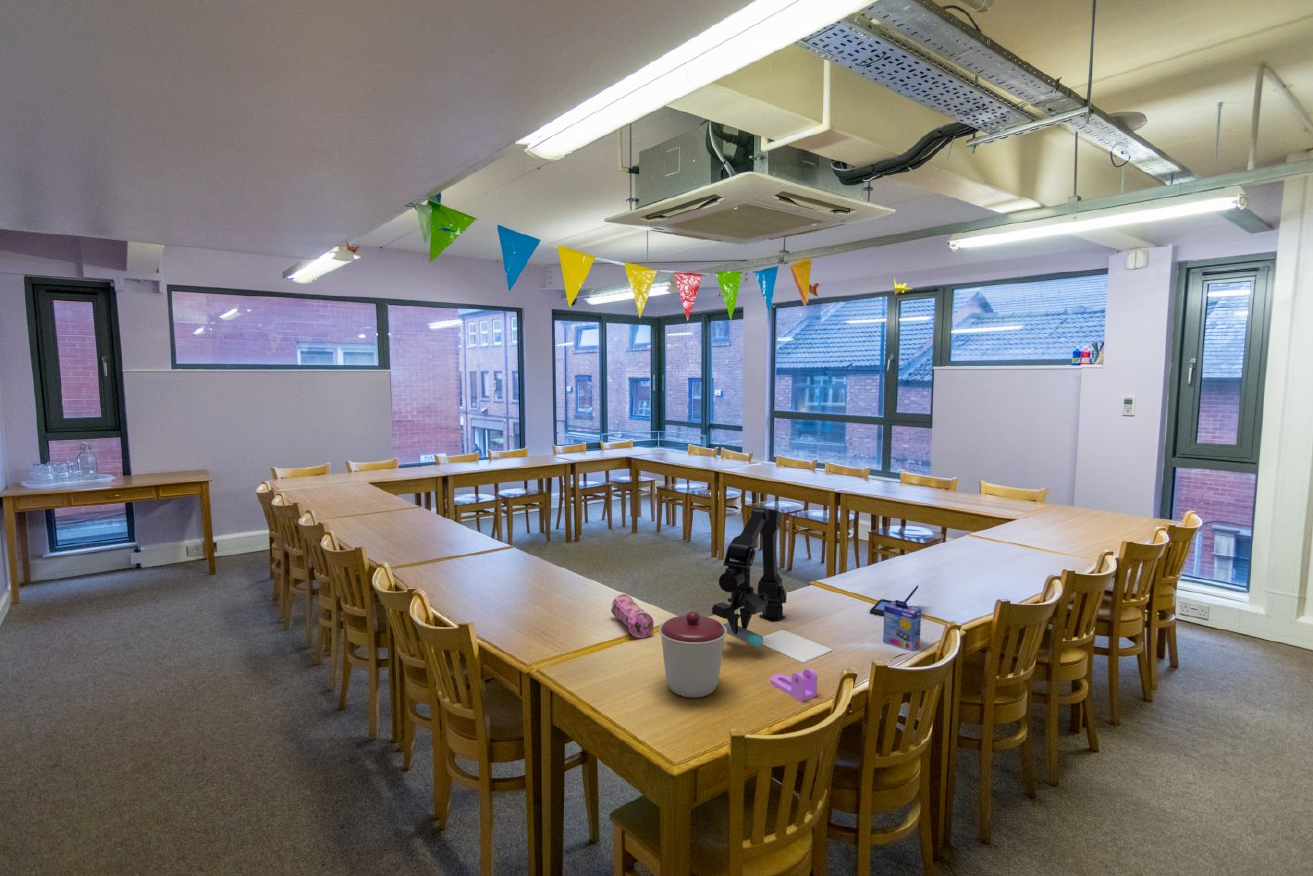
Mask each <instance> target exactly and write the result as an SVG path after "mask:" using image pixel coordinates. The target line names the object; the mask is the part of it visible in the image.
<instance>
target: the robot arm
mask: <svg viewBox="0 0 1313 876" xmlns="http://www.w3.org/2000/svg"><path fill="white" fill-rule="evenodd" d="M750 512H751V513H750V516H749V518H748V519H747V522H746V523H745V525H744V527H743V530H742V531H741V534H738V536H735V537H734V538H733V539H732V540H731V541H730V542H729V544H728V546H727V550H726V553H725V555H724V561H723V567H726V568H725V570H724V571H725V572H724V573H722V574H721V575H720V576H719V578H718V586H719V587H720V589H721V590H723V591H724V592H726V593H730V597H727V602H728V603H730V604H728V603H726V602H724V601H723V602H718V603H715V604H713V605H712V607H711V614H712V615H714V616H717V617H719V618H722V619H726V620H727V622H729V624H730V627H731V629H732V631H733V633H734V634H735V635H736V634H737V630H738V626H739V619H740V624H741V625H740V626H741V627H743V628H745V629H747V630H748V627H749V624H750V622H751V619H752V616H753V615H757V614H759V616H758V617H760V618H761V619H764V620H767V621H769V622H771V623H772V622H777V621H780V620H783V619H785V618H786V616H785V615H783V614H784V611H783V610H784V606H783V604H786V603H787V592H786V589H785V587H784V586H783V585H784V584H783V579H782V577H781V576H780V574H779V573H778V557H777V553H778V552H777V532H778V530H779V529H780V527H781V525H782V524H781V523H782V520H783V515H782V513H781V512H780V510H779V509H774V508H766V507H765V508H763V507H752V508H751V511H750ZM759 535H761V549H762V576H761V578H760V580H759V581H758V583H757V593H756V592H755V591H754V590H755V589H754V587H753V586H751V566H752V565H753V562H754V559H755V557H756V554H757V553H756V548H755V543H756V542H757V540H758V539H757V538H758V537H759ZM752 567H753V566H752ZM760 613H761V614H760Z"/></svg>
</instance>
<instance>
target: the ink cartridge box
mask: <svg viewBox="0 0 1313 876" xmlns="http://www.w3.org/2000/svg"><path fill="white" fill-rule="evenodd" d="M894 601H896V602H890V603H888V604H886V605H885V606H884V617H883V635H882V639H883V640H882V642H883V643H885V644H889V645H892V646H895V647H898V648H900V649H901V648H902V649H904V650H907V651H911V652H913V651H915V650H917V649H918V648H920V646H921V625H922V624H921V621H922V619H921V618H922V609H920V608H919V607H914V606H910V605H908V602H903V601H904V600H903V601H902V600H898V599H895V600H894ZM898 602H900V603H903V604H905V605H903V604H900V603H898Z"/></svg>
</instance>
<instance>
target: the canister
mask: <svg viewBox="0 0 1313 876" xmlns="http://www.w3.org/2000/svg"><path fill="white" fill-rule="evenodd" d="M723 624H724V623H722V622H720V621H718V620H716V619H714V618H711V617H709V616H705V615H699V613H698V612H696V611H689V612H687V613H686V615H684V614H683V615H677V616H674V617H672V618H669V619H667V620H665V621H664V622H662V623H661V624H660V625H659V627H658V633H659V635H660V636H661V644H662V654H663V656H662V657H663V666H664V672H665V680H666V683H667V686H668V688H669V689H670V690H671V691H672V692H673V693H674V694H676V695H679V696H680V695H681V696H680V697H685V698H689V697H690V698H703V697H706V696H708V695H711V694H712V693H713V692H714V691H715V690H716V689H717V686H718V683H719V679H720V673H721V668H722V667H721V665H722V657H723V651H724V642H725V641H724V640H725V637H726V636H727V635H728V634H727V629H726V627H725V626H724V625H723Z"/></svg>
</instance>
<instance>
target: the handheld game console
mask: <svg viewBox="0 0 1313 876" xmlns="http://www.w3.org/2000/svg"><path fill="white" fill-rule="evenodd" d="M918 589H919V585H916V586H915V588H914V589H913V590H912V591H911V592H910V593H909V594H908V595H907V597H906V598H905V600H903V602H906V603H908V601H909V600H910V599H911V597H912V596H913V595H914V594H915V592H916V591H917V590H918ZM890 602H896V601H895V600H890V599H884V598H882V599H879V600H878V601H877V602H876V604H874V606H873V607H871V609H869V615H870V614H871V615H872V614H874V616H877V615H879V616H878V617H882V616H883V618H884V606H885V605H886V604H888V603H890ZM898 603H900V602H898ZM900 604H903V603H900ZM903 605H905V604H903Z"/></svg>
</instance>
